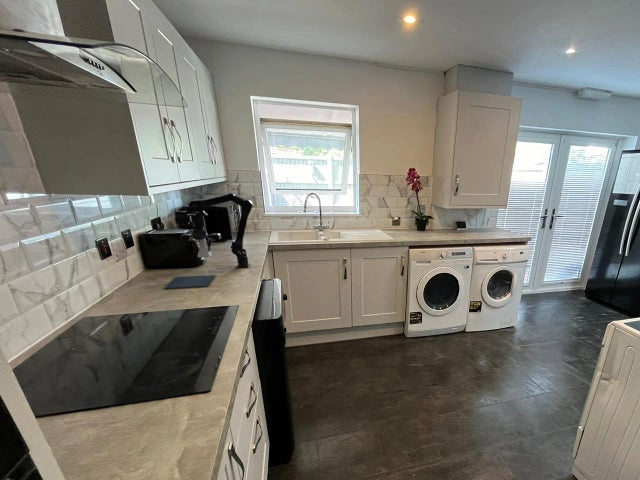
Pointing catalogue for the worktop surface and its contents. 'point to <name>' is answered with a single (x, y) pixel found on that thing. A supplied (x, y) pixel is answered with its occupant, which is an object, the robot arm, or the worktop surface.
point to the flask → (203, 249)
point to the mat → (190, 282)
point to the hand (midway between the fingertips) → (204, 251)
